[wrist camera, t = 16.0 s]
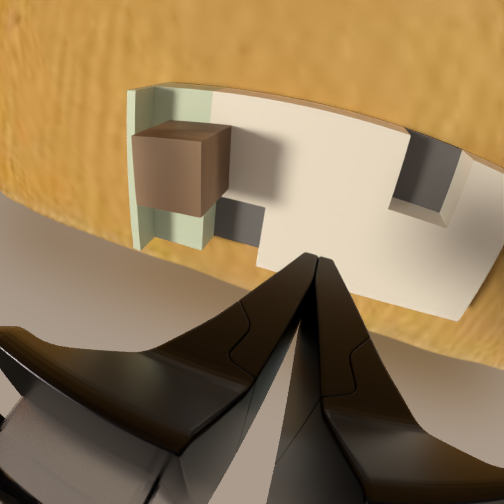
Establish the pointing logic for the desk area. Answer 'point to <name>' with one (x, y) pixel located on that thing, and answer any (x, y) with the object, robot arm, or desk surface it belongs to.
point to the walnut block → (181, 166)
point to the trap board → (335, 195)
